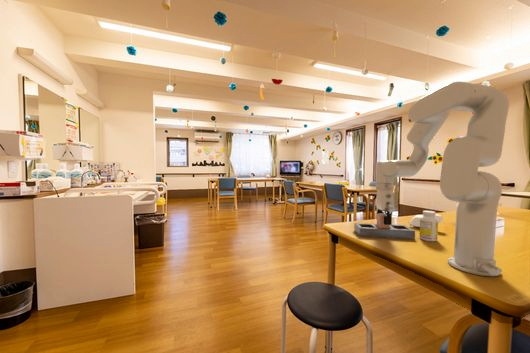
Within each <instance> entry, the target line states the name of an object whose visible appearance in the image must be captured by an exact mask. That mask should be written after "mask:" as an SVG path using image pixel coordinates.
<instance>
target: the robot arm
mask: <svg viewBox="0 0 530 353" xmlns="http://www.w3.org/2000/svg"><path fill="white" fill-rule="evenodd" d="M509 107H510V100H509V97H508V95H507V94H506V93H505V92H504V91H503V90H502V89H499V88H496V87H493V86H488V85H483V84H478V83H471V82H466V81H452V82H449V83H446V84H445V85H443V86H441V87H438V88H437V89H435V90H434V91H431V92H429V93H428V94H426V95H424V96H422V97H421V98H419V99H418V100H417V99H416V101H415V102H414V103H413V104H411V106H410V108H409V110H408V112H407V117H408V119H409V121H411V122H412V123H413V125H412V127H411V128H410V130H409V132H408V133H407V135H406V140H407V141H408V142H410V144H412V146H413V148H412V149H413V151H412V153H411V154H410V156H409V157H408V158H407V159H392V160H381V161H380V160H379V161H377V162H376V165H375V166H376V167H375V190H376V196H375V197H376V198H375V199H376V200H375V201H376V202H375V205H376V209H375V210H376V215H375V216H376V217H375V218H376V220H377V213H383V214H385V216H384V225H391V224H392V222H393V219H392V218H393V212H394V211H395V199H394V198H395V196H394V188H395V187H394V185H395V184H394V183H395V178H404V177H405V178H408V177H414V176H416V175H417V174H418V173H419V172H420V170H421V169H422V168H423V166H424V165H425V164H426V162H427V160H428V157H429V150H430V149H429V145H430V143H431V142H432V141H433V139H434V138H435V136H436V135H437V133H438V132H439V130H440V129H441V128H442V126H443V125H444V123H445V122H446V120H447V119H448V118H449V116H450V113H451V110H452V111H459V112H469V113H473V114H472V116H471V118H469V120H468V125H467V128H466V135H462V136H458V137H456V138H454V139H452V140H451V141H450V142H448V144H447V145H446V147H445V149H444V152H443V155H442V163H441V169H440V170H441V172H440V178H439V189H440V191H441V194H442V195H443V196H444V197H445V198H446V199H448V200H449V201H451V202H457V203H458V204H457V206H456V211H455V225H454V226H455V230H454V247H453V248H454V252H453V256H450V257H448V258H447V263H448V264H449V265H450V266H451V267H453V268H455V269H457V270H460V271H463V272H465V273H469V274H472V275H478V276H485V277H498V276H500V275H501V273H502V272H503V270H502V268H500V267H498V266H497V260H495V249H496V248H495V247H496V246H495V245H496V244H495V243H496V229H497V214H498V207H499V203H500V199H501V195H502V192H503V191H502V190H503V187H502V182H501V181H500V179H499V177H497V176H496V175H494V174H493V173H490V172H487V171H482V170H479V168H485V167H486V168H487V167H490V166H493V165H496V164H497V163H498V162H500V159H501V157H502V153H503V146H504V138H505V133H506V123H507V118H508V113H509V109H510V108H509ZM392 225H393V224H392Z"/></svg>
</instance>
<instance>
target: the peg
mask: <svg viewBox="0 0 530 353" xmlns="http://www.w3.org/2000/svg"><path fill="white" fill-rule="evenodd" d="M384 216H385V214H383V213H377V219H376V224H377V227H378V228H390V225H384Z"/></svg>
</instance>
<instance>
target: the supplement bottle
mask: <svg viewBox="0 0 530 353" xmlns="http://www.w3.org/2000/svg"><path fill="white" fill-rule="evenodd" d="M436 214H437V213H436V211H433V210H422V215H423V216H422V217H420V227H419V238H420V239H421V240H422V241H427V242H437V241H438V237H439V236H438V234H439V232H438V231H439V229H438V228H439V223H438V219H437V218H436V217H435V215H436Z"/></svg>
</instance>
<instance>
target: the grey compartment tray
mask: <svg viewBox="0 0 530 353" xmlns="http://www.w3.org/2000/svg"><path fill="white" fill-rule="evenodd" d="M353 225H354V228H353V230H354V232H355V233H356V234H357V235H358V237H359V236H360V237H361V238H362V237H363V238H377V239H379V238H380V239H381V238H382V239H399V240H402V239H403V240H415V239H416V230H415V229H413V228H412V227H410V226H409V225H408V226H407V225H405V224H391V225H390V228H378V227H377V223H368V222H367V223H363V222H354V224H353Z"/></svg>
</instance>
